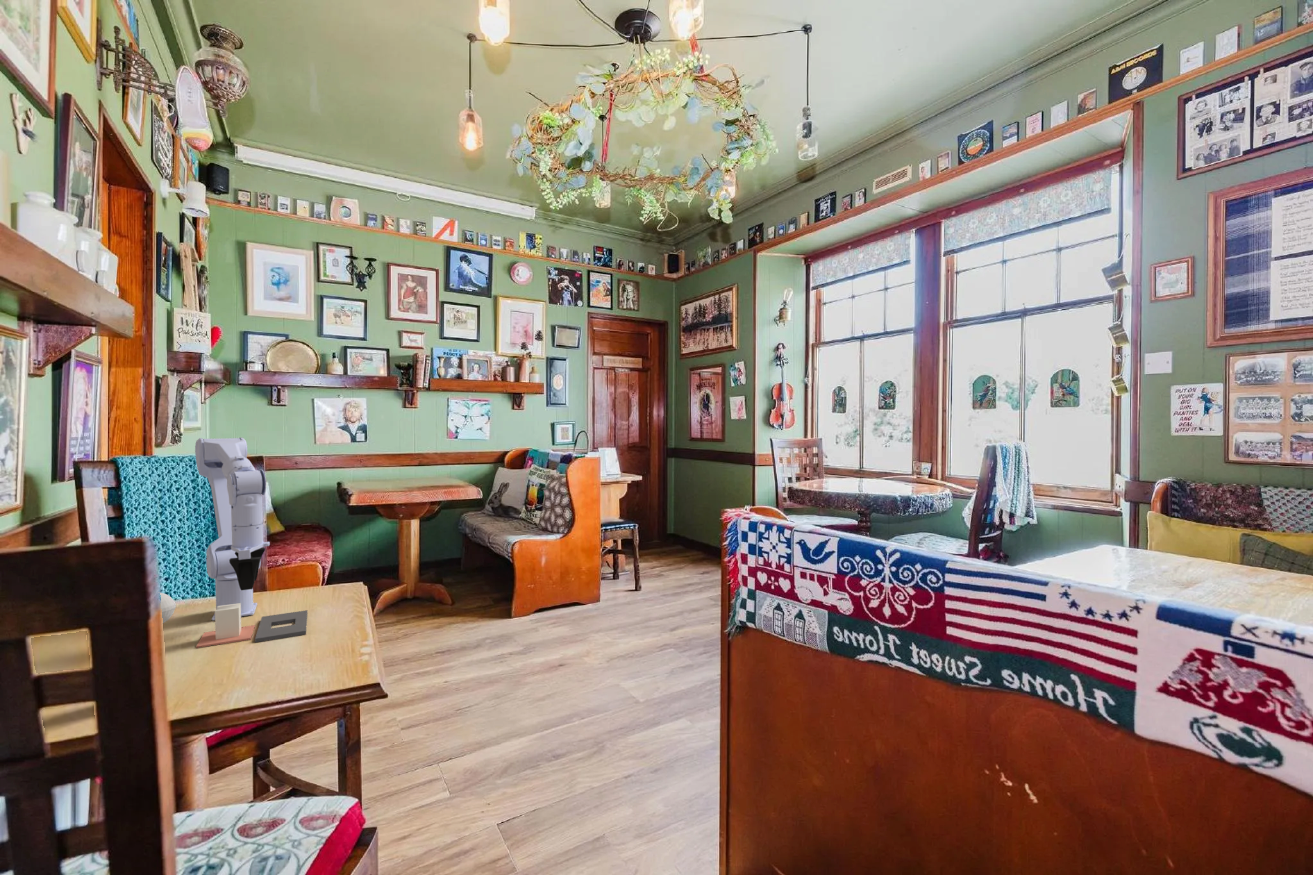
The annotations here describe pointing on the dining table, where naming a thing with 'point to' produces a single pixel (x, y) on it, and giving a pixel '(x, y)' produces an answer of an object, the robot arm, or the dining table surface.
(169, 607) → the lollipop
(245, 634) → the mat
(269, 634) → the board
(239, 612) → the plug
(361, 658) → the dining table surface
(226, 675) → the dining table surface
